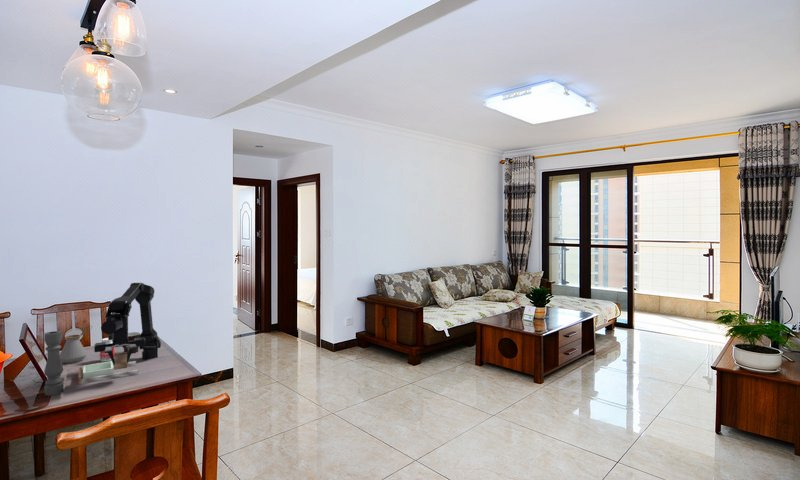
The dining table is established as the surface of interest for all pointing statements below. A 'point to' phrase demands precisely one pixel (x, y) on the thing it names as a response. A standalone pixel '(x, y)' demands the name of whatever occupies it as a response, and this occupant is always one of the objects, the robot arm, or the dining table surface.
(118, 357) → the walnut block
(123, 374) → the bay board
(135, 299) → the robot arm
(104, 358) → the pill bottle
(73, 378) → the dining table surface
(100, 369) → the crate
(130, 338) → the coffee mug
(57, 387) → the candle holder
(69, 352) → the coffee pot
